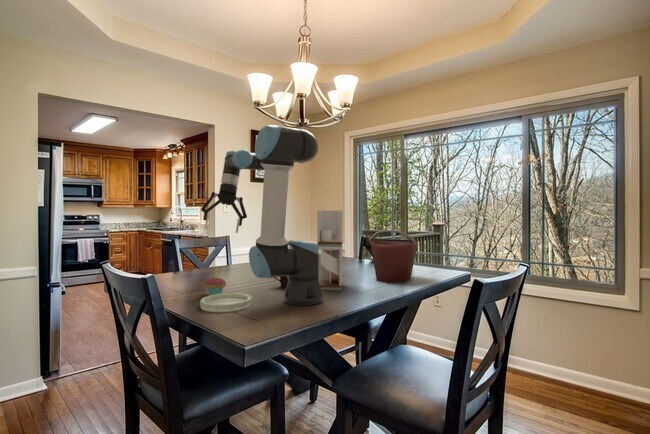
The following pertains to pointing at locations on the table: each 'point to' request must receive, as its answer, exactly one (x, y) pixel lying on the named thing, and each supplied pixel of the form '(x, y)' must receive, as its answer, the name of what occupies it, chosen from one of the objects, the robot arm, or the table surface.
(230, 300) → the rimmed plate
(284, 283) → the coffee mug
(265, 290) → the table surface
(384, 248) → the bucket
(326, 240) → the display case
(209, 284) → the cupcake
